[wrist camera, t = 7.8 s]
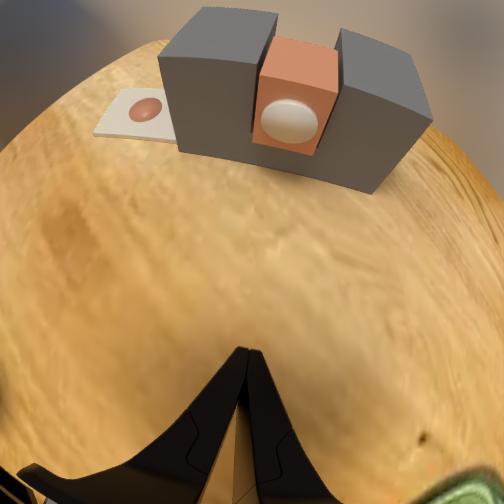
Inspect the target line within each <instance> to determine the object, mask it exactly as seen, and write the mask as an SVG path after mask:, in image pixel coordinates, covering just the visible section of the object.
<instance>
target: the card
mask: <svg viewBox="0 0 504 504" xmlns="http://www.w3.org/2000/svg"><path fill="white" fill-rule="evenodd" d="M93 135H94V136H101V137H116V138H129V139H139V140H149V141H158V142H167V143H175V144H177V141H176V137H175V133H174V129H173V125H172V120H171V116H170V112H169V108H168V103H167V99H166V95H165V90H164V89H158V88H122V89H121V90H120V92H119V93H118V94H117V96H116V97H115V99H114V100H113V102H112V103H111V104H110V106H109V107H108V109H107V110H106V112H105V114H104V115H103V117H102V118H101V120H100V121H99V123H98V125H97V126H96V128H95V129H94V131H93Z"/></svg>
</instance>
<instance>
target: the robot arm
mask: <svg viewBox="0 0 504 504" xmlns="http://www.w3.org/2000/svg"><path fill="white" fill-rule="evenodd" d="M237 402H238V404H237ZM236 406H237V417H236V436H235V456H234V476H233V497H232V504H343V503H341V502H340V501H339V500H337V499H336V498H335V497H334V496H333V495H332V494H331V493H330V491H329V490H328V489H327V487H326V486H325V484H324V483H323V481H322V480H321V478H320V476H319V475H318V473H317V472H316V470H315V469H314V467H313V465H312V464H311V462H310V461H309V459H308V457H307V455H306V454H305V452H304V450H303V448H302V446H301V444H300V442H299V440H298V438H297V435H296V433H295V431H294V429H292V428H293V426H292V424H291V422H290V419H289V417H288V414H287V412H286V410H285V407H284V405H283V403H282V400H281V398H280V395H279V393H278V390H277V388H276V386H275V383H274V381H273V378H272V376H271V373H270V371H269V368H268V366H267V363H266V361H265V359H264V356H263V354H262V352H261V351H260V350H255V349H250V350H249V349H248V348H245V347H241V346H238V347H237V348H236V349H235V350H234V351H233V353H232V354H231V355H230V356H229V358H228V359H227V360H226V361H225V363H224V364H223V365H222V366H221V368H220V369H219V370H218V371H217V373H216V374H215V375H214V376H213V377H212V379H211V380H210V381H209V382H208V384H207V385H206V386H205V387H204V388H203V390H202V391H201V392H200V393H199V394H198V396H197V397H196V398H195V399H194V400H193V402H192V403H191V404H190V405H189V406H188V408H187V409H186V410H185V411H184V412H183V413H182V414H181V416H180V417H179V418H178V419H177V420H176V421H175V422H174V423H173V424H172V425H171V426H170V427H169V428H168V429H167V430H166V431H165V432H164V433H162V434H161V435H160V436H159V437H158V438H157V439H155V440H154V441H153V442H152V443H150V444H149V445H148V446H147V447H145V448H144V449H143V450H142V451H140V452H139V453H138V454H137V455H135V456H134V457H133V458H131V459H130V460H128V461H126V462H125V463H123V464H121V465H118V466H116V467H113V468H110V469H107V470H104V471H101V472H98V473H95V474H92V475H89V476H85V477H82V478H78V479H64V478H61V477H58V476H56V475H55V474H53V473H52V472H50V471H48V470H47V469H45V468H43V467H42V466H40V465H38V464H36V463H33V464H31V465H29V466H27V467H25V468H23V469H21V470H20V471H19V472H18V473H17V474H16V475H17V476H18V477H19V478H20V479H21V480H23V481H24V482H25V483H27V484H28V485H29V486H31V487H32V488H34V489H35V490H36V491H38V492H39V493H41V494H42V495H44V496H46V499H45V501H44V504H200V503H201V500H202V498H203V495H204V493H205V490H206V488H207V485H208V482H209V480H210V477H211V475H212V472H213V469H214V467H215V464H216V461H217V459H218V456H219V453H220V451H221V448H222V445H223V442H224V440H225V437H226V434H227V431H228V429H229V426H230V423H231V420H232V417H233V415H234V412H235V409H236ZM0 504H38V503H37V500H36V498H35V495H34V493H33V490H31V489H30V488H29V487H27V486H26V485H24V484H23V483H22V482H20V481H19V480H18V479H16V478H15V477H14V476H13V475H11V474H10V473H9V472H8V471H6V470H5V469H4V468H3V467H2V466H0Z"/></svg>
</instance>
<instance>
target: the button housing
mask: <svg viewBox="0 0 504 504" xmlns="http://www.w3.org/2000/svg"><path fill="white" fill-rule="evenodd" d="M277 19H278V14H277V13H272V12H265V11H257V10H248V9H238V8H224V7H202V8H201V9H200V10H199V11H198V12H197V13H196V14H195V15H194V16H193V17H192V18H191V19H190V20H189V21H188V23H186V25H185V26H184V27H183V28H182V29H181V30H180V31H179V32H178V33H177V34H176V36H175V37H174V38H173V39H172V40H171V41H170V42H169V43H168V44H167V46H166V47H165V48H164V49H163V50H162V51H161V53H160V54H159V55H158V56H157V57H158V62H159V67H160V72H161V77H162V81H163V86H164V90H165V95H166V99H167V103H168V108H169V112H170V116H171V120H172V125H173V129H174V133H175V137H176V141H177V145H178V149H179V152H185V153H192V154H198V155H205V156H211V157H216V158H222V159H228V160H233V161H238V162H243V163H248V164H253V165H258V166H263V167H268V168H272V169H277V170H281V171H286V172H290V173H294V174H298V175H302V176H306V177H310V178H314V179H318V180H322V181H326V182H329V183H333V184H337V185H340V186H344V187H347V188H351V189H354V190H358V191H361V192H365V193H368V194H372V193H373V192H374V191H375V190H376V188H377V187H378V186H379V185H380V184H381V183H382V182H383V180H384V179H385V178H386V177H387V176H388V175H389V173H390V172H391V171H392V170H393V169H394V168H395V166H396V165H397V164H398V163H399V162H400V161H401V159H402V158H403V157H404V156H405V155H406V153H407V152H408V151H409V150H410V149H411V147H412V146H413V145H414V144H415V143H416V141H417V140H418V139H419V138H420V136H421V135H422V134H423V133H424V131H425V130H426V129H427V128H428V127H429V125H430V124H431V123H432V121H433V117H432V114H431V111H430V108H429V104H428V101H427V98H426V95H425V92H424V89H423V86H422V83H421V81H420V78H419V75H418V73H417V70H416V67H415V65H414V63H413V60H412V58H411V55H410V54H408V53H406V52H404V51H401V50H399V49H397V48H395V47H392V46H390V45H387V44H385V43H382V42H380V41H377V40H375V39H372V38H369V37H366V36H363V35H361V34H358V33H355V32H351V31H349V30H346V29H342V28H341V30H340V33H339V36H338V40H337V42H336V45H335V48H334V50H337V51H338V95H337V97H336V100H335V102H334V105H333V107H332V110H331V112H330V115H329V117H328V120H327V122H326V125H325V127H324V129H323V132H322V134H321V137H320V139H319V142H318V144H317V146H316V149H315V151H314V154H313V156H310V155H306V154H302V153H298V152H294V151H290V150H286V149H281V148H277V147H272V146H267V145H263V144H258V143H253V142H252V139H253V130H254V120H255V111H256V102H257V93H258V83H259V75H260V72H261V69H262V67H263V64H264V61H265V58H266V56H267V53H268V50H269V48H270V45H271V43H272V40H273V37H274V36H275V32H276V26H277Z"/></svg>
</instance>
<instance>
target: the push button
mask: <svg viewBox="0 0 504 504" xmlns="http://www.w3.org/2000/svg"><path fill="white" fill-rule="evenodd" d="M337 95H338V51H337V50H334V49H330V48H326V47H323V46H319V45H315V44H311V43H307V42H302V41H298V40H293V39H288V38H283V37H278V36H274V37H273V40H272V43H271V45H270V48H269V50H268V53H267V56H266V58H265V61H264V64H263V67H262V69H261V72H260V75H259V83H258V93H257V102H256V111H255V120H254V130H253V139H252V142H253V143H258V144H263V145H267V146H272V147H277V148H281V149H286V150H290V151H294V152H298V153H302V154H306V155H310V156H313V154H314V151H315V149H316V146H317V144H318V142H319V139H320V137H321V134H322V132H323V129H324V127H325V125H326V122H327V120H328V117H329V115H330V112H331V110H332V107H333V105H334V102H335V100H336V97H337Z"/></svg>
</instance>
